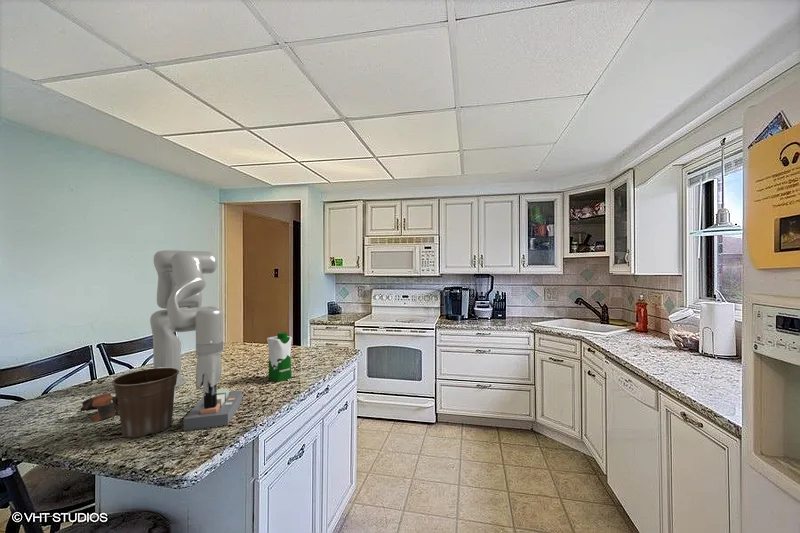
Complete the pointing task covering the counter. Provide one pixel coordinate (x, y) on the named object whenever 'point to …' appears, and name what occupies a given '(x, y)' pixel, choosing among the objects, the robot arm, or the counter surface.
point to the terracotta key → (210, 410)
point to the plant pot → (145, 400)
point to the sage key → (223, 392)
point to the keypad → (214, 419)
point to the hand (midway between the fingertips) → (210, 406)
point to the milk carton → (279, 357)
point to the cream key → (221, 399)
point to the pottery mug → (101, 406)
